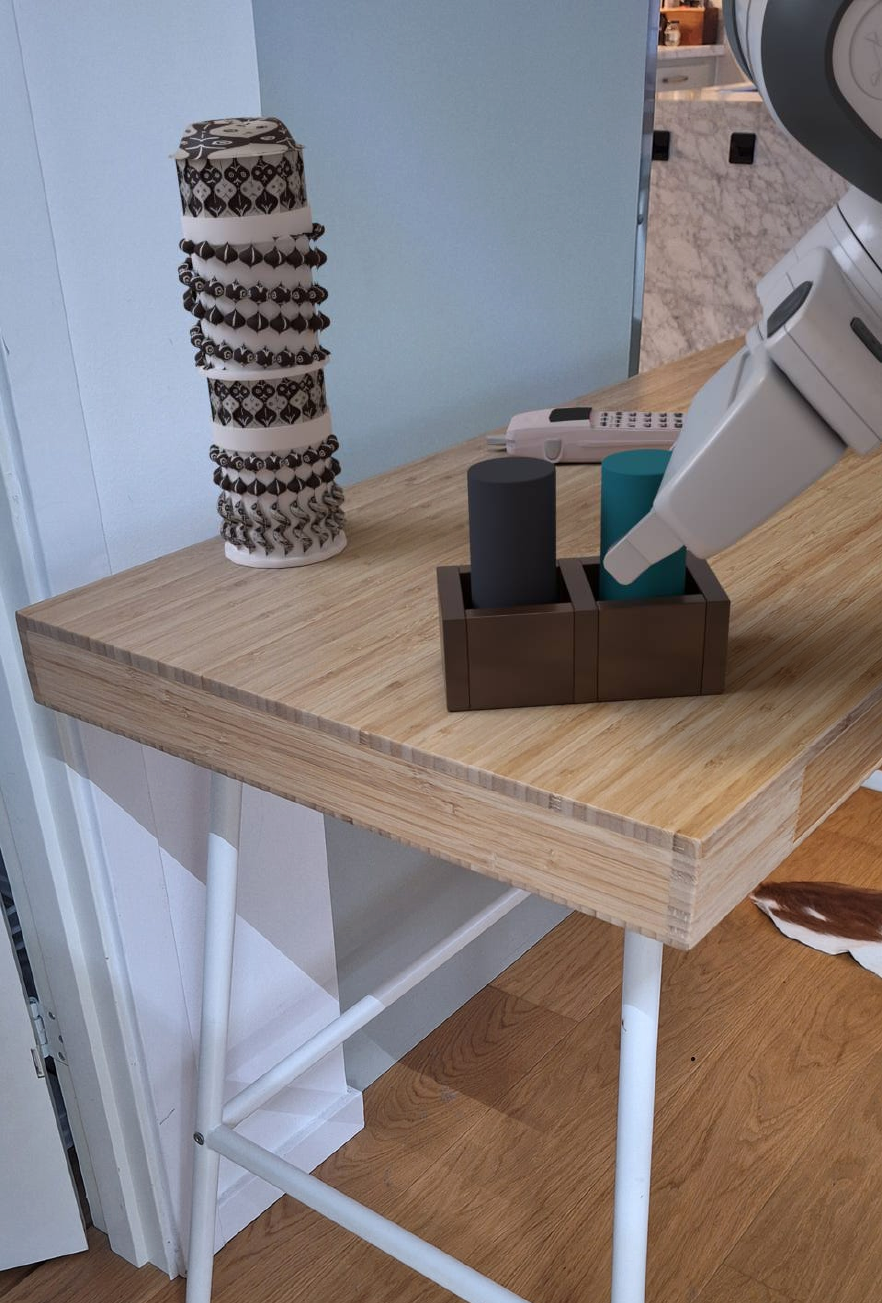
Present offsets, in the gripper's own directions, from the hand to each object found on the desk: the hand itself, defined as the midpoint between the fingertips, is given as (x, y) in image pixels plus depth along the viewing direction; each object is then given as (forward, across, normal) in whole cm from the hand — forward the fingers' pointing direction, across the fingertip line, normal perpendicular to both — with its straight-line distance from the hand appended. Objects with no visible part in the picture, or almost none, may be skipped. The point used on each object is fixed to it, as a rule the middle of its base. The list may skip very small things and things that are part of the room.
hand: (626, 538), depth 69 cm
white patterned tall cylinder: (+23, -17, -13) cm, 32 cm away
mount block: (+7, +1, +3) cm, 7 cm away
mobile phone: (+8, -41, +2) cm, 42 cm away
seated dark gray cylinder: (+9, +2, +1) cm, 9 cm away
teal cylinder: (+4, 0, +6) cm, 7 cm away
